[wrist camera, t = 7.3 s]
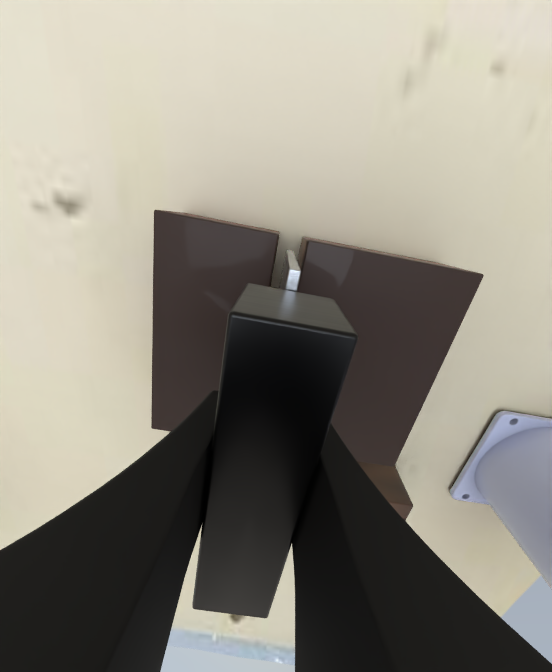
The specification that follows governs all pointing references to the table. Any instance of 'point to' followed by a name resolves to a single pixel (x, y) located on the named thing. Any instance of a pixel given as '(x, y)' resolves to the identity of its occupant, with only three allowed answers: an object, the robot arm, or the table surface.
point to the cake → (387, 336)
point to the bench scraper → (267, 437)
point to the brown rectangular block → (198, 303)
